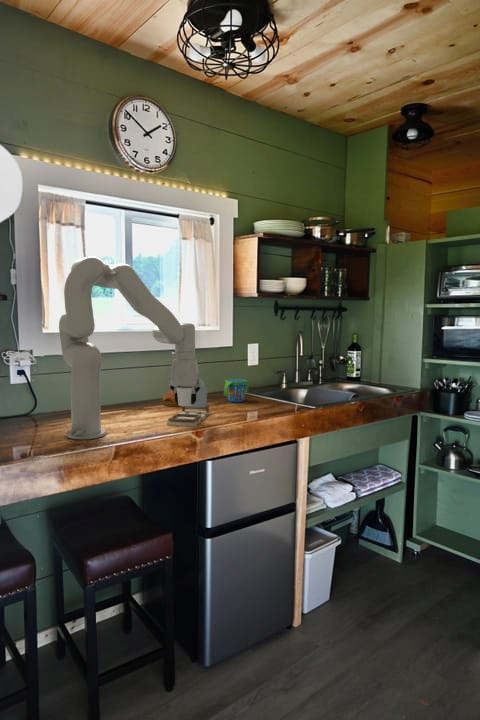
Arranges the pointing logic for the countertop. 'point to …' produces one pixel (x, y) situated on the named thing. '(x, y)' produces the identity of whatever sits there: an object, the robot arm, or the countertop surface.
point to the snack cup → (236, 389)
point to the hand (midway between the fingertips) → (185, 402)
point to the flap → (200, 399)
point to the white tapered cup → (184, 395)
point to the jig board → (188, 417)
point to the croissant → (170, 399)
